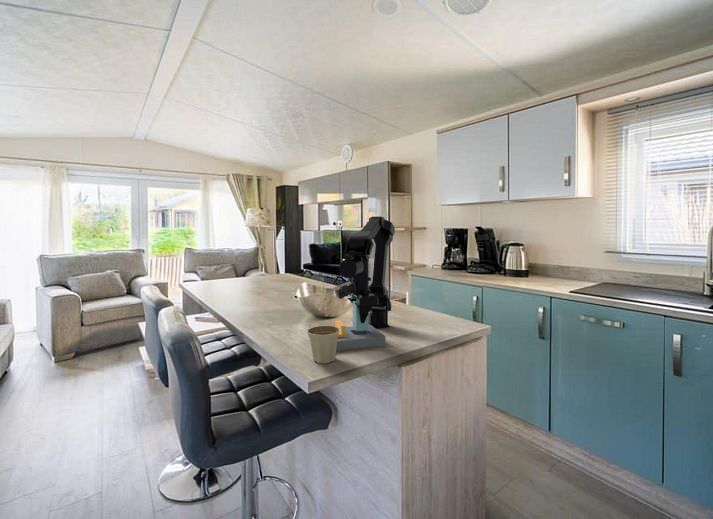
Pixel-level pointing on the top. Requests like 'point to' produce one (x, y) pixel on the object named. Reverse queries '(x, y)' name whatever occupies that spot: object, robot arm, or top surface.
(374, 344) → the socket plate
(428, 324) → the top surface
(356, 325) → the plug
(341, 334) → the orange block
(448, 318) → the top surface
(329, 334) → the flower pot
